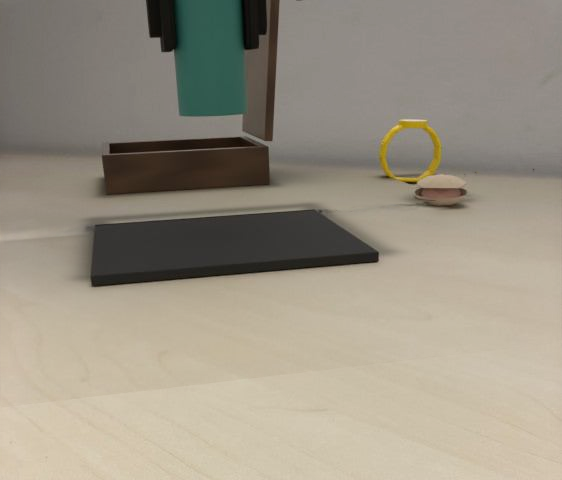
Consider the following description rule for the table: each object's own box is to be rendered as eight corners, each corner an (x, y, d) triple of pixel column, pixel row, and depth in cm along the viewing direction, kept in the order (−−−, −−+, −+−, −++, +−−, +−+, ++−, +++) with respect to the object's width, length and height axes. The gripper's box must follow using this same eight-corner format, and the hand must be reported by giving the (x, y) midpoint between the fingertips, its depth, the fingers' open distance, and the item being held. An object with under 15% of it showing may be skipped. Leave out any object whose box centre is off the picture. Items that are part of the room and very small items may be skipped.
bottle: (182, 117, 43) (168, -58, 39) (176, 114, 47) (162, -46, 43) (253, 114, 44) (245, -58, 40) (241, 111, 48) (233, -46, 44)
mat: (91, 286, 39) (90, 276, 39) (96, 226, 55) (95, 219, 54) (379, 261, 43) (379, 251, 42) (308, 211, 58) (307, 204, 58)
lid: (273, -59, 60) (336, -52, 61) (247, -39, 71) (301, -33, 72) (264, 141, 66) (321, 143, 67) (242, 131, 77) (291, 133, 78)
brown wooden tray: (107, 202, 65) (101, 155, 63) (107, 183, 76) (102, 142, 74) (270, 191, 68) (268, 146, 66) (247, 175, 79) (245, 135, 77)
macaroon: (412, 208, 58) (413, 177, 57) (416, 198, 62) (417, 168, 61) (466, 209, 57) (468, 177, 56) (466, 198, 61) (468, 169, 60)
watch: (383, 185, 69) (385, 121, 67) (376, 181, 72) (377, 120, 69) (442, 183, 70) (446, 119, 67) (433, 179, 72) (436, 117, 70)
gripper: (321, -292, 41) (323, 48, 49) (22, -312, 38) (72, 56, 46) (362, -364, 35) (357, 44, 42) (3, -395, 32) (66, 52, 39)
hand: (209, 46), depth 44 cm, fingers closed on bottle, 4 cm apart
